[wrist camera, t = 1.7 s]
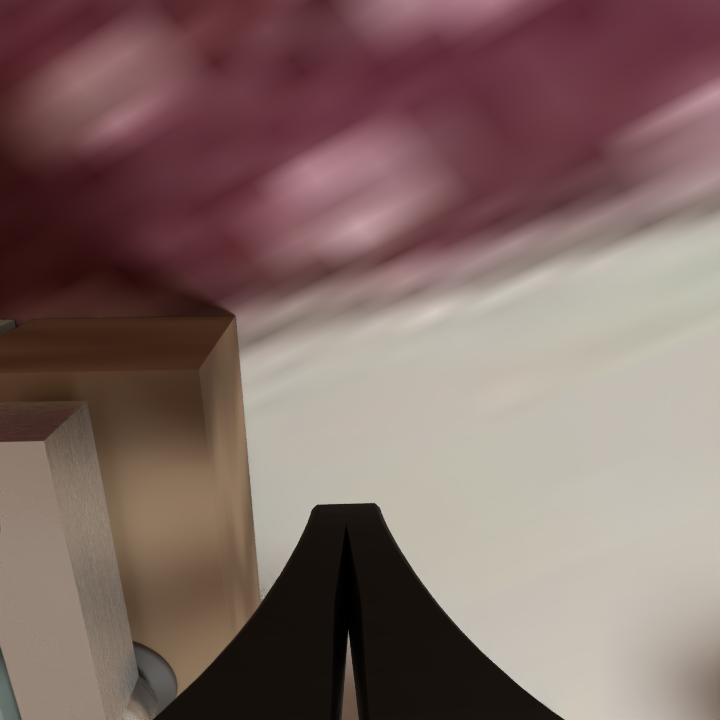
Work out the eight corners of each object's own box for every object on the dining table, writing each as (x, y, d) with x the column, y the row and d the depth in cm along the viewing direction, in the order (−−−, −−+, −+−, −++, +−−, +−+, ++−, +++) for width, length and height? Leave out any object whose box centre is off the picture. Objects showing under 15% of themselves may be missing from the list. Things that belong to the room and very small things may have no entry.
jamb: (265, 664, 23) (245, 801, 18) (107, 670, 23) (43, 809, 18) (235, 315, 18) (196, 373, 13) (33, 319, 18) (-84, 378, 13)
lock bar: (163, 735, 17) (133, 834, 14) (68, 738, 17) (21, 839, 14) (104, 400, 13) (48, 455, 11) (-18, 402, 13) (-102, 459, 10)
